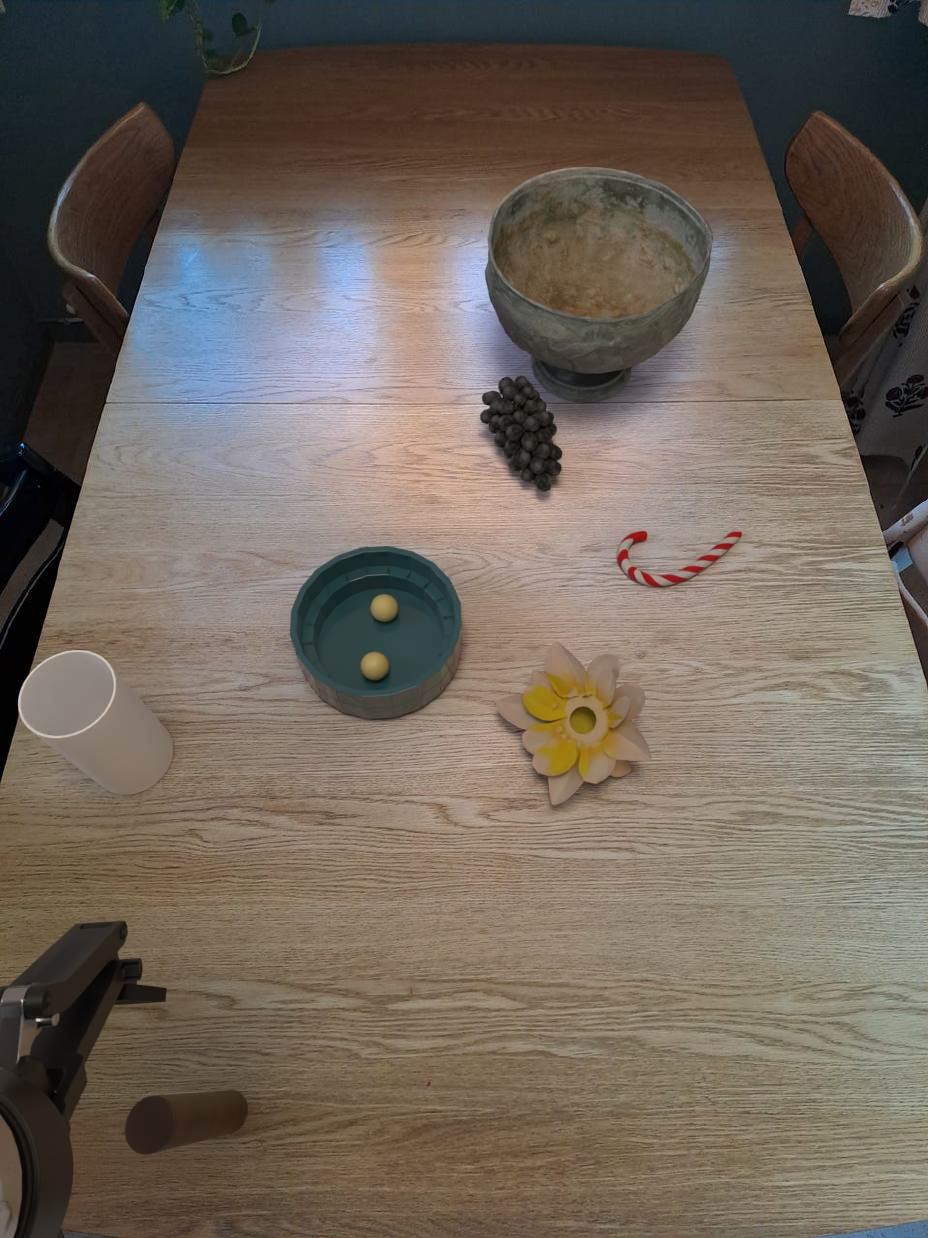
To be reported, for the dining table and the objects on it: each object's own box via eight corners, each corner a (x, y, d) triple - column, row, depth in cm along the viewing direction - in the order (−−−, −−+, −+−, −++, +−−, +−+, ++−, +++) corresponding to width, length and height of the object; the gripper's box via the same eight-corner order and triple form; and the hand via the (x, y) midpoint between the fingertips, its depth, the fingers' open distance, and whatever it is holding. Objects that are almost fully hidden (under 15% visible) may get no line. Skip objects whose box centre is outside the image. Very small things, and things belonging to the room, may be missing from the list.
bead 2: (373, 690, 88) (370, 678, 85) (356, 670, 89) (352, 658, 86) (395, 674, 89) (393, 661, 86) (379, 654, 90) (376, 641, 87)
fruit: (570, 451, 92) (528, 353, 99) (501, 481, 94) (464, 382, 100) (584, 489, 100) (544, 396, 107) (520, 517, 101) (485, 423, 108)
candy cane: (757, 551, 95) (639, 593, 93) (753, 557, 96) (637, 599, 94) (722, 499, 99) (608, 539, 96) (719, 506, 100) (606, 545, 97)
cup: (187, 765, 85) (132, 704, 71) (111, 811, 82) (38, 757, 68) (153, 703, 88) (94, 633, 74) (79, 745, 86) (3, 681, 72)
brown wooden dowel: (222, 1143, 69) (139, 1167, 52) (202, 1108, 70) (114, 1121, 53) (255, 1115, 70) (185, 1129, 53) (234, 1081, 71) (159, 1084, 54)
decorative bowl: (653, 466, 102) (689, 333, 85) (454, 417, 107) (451, 282, 89) (694, 326, 115) (732, 186, 98) (515, 288, 119) (522, 148, 102)
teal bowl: (363, 753, 85) (356, 730, 80) (270, 636, 92) (257, 607, 86) (494, 656, 91) (496, 628, 85) (397, 551, 97) (392, 518, 91)
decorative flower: (477, 681, 87) (505, 636, 79) (570, 656, 91) (605, 612, 83) (533, 817, 81) (569, 785, 73) (629, 784, 86) (674, 751, 77)
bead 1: (382, 631, 91) (380, 618, 88) (366, 612, 92) (363, 599, 90) (404, 616, 92) (402, 602, 89) (388, 598, 93) (386, 584, 90)
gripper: (-45, 1782, 22) (181, 1424, 41) (82, 814, 32) (214, 891, 51) (-350, 1818, 21) (23, 1440, 40) (-119, 826, 32) (89, 899, 51)
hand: (130, 1132), depth 46 cm, fingers open, 13 cm apart
